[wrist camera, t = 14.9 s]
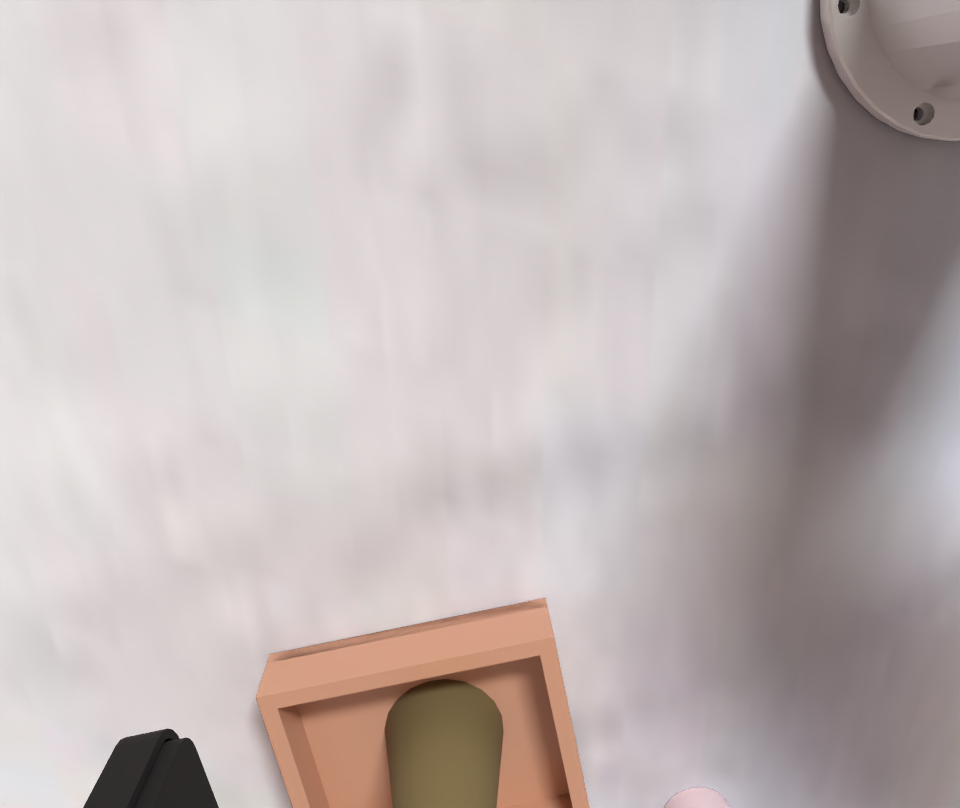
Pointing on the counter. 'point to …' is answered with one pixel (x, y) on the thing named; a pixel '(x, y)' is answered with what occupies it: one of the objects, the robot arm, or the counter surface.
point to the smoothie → (697, 799)
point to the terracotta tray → (405, 664)
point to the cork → (444, 747)
